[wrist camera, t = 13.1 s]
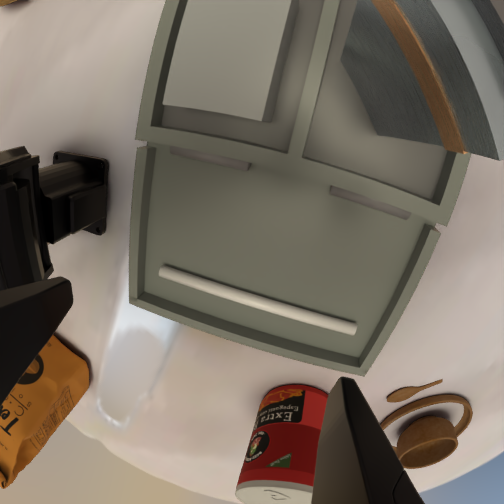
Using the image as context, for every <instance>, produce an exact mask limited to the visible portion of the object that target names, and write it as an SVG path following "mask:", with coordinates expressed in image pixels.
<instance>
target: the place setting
mask: <svg viewBox="0 0 504 504" xmlns="http://www.w3.org/2000/svg"><path fill="white" fill-rule="evenodd" d="M441 382H442V379H441V380H438V381H435V382H433V383H430V384H427V385H424V386H421V387H405V388H402V389H399V390H397V391H395V392H394V393H392V394H391V395H389V396H388V398H387V402H400V401H404V400H406V399H408V398H410V397H412V396H413V395H414V394H416V393H417V392H419V391H421V390H424V389H426V388H429V387H431V386H434V385H436V384H439V383H441ZM446 402H455V403H460V404H463V406H464V414H463V417H462V419H461V420H460V422H459V423H458V424H457V425H456V426H455V427H454V426H453V424H452V423H451V422H450V421H449V420H447V419H445V418H440V417H436V416H426V417H423V418H420V419H418V420H416V421H414V422H413V423H412V424H410V426H409V427H408V428H407V429H406V430H405V431H404V432H403V433H402V434H401V436H400V437H399V439H398V442H397V447H394V446H392V447H393V449H394V451H395V453H396V454H397V456H398V458H399V460H400V462H401V464H402V465H403V467H404V468H407V469H416V468H422V467H426V466H430V465H433V464H435V463H437V462H440V461H442V460H443V459H445V458H447V457H448V456H449V455H451V454H452V453H453V452H454V451H455V449H456V448H457V446H458V440H457V437H458V436H459V435H460V434H461V433H462V432H463V431H464V430H465V429H466V428H467V426H468V425H469V423H470V421H471V419H472V414H473V412H472V408H471V406H470V404H469V403H468V402H467V400H465V399H464V398H462V397H459V396H456V395H448V394H447V395H436V396H431V397H427V398H424V399H421V400H418V401H415V402H413V403H410V404H408V405H406V406H404V407H402V408H400V409H399V410H397V411H395V412H394V413H392V414H391V415H390V416H389V417H387V418H386V419H385V420H384V421H383V422H382V424H381V425H380V426H381V427H382V429H383V430H384V429H385V428H386V427H387V426H388V425H390V424H391V423H392V422H394V421H395V420H397V419H398V418H400V417H402V416H404V415H406V414H408V413H410V412H412V411H415V410H417V409H420V408H423V407H426V406H429V405H433V404H438V403H446Z"/></svg>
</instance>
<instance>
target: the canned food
mask: <svg viewBox="0 0 504 504" xmlns="http://www.w3.org/2000/svg"><path fill="white" fill-rule="evenodd" d="M327 398H328V395H327V394H326V393H324V392H323V391H321V390H319V389H316V388H313V387H310V386H304V385H285V386H281V387H278V388H276V389H273V390H272V391H270V392H269V393H268V394H267V395H266V396H265V398H264V399H263V400H262V402H261V404H260V407H259V411H258V414H257V418H256V422H255V425H254V429H253V432H252V436H251V439H250V443H249V446H248V449H247V453H246V456H245V460H244V463H243V466H242V469H241V473H240V476H239V480H238V483H237V487H236V493H235V495H236V497H237V499H239V500H240V501H241V502H243V503H244V504H311V500H312V493H313V485H314V477H315V468H316V459H317V449H318V442H319V437H320V432H321V428H322V423H323V418H324V413H325V408H326V403H327Z"/></svg>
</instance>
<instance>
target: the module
mask: <svg viewBox="0 0 504 504" xmlns="http://www.w3.org/2000/svg"><path fill="white" fill-rule="evenodd" d="M340 61H341V62H342V64H343V66H344V68H345V70H346V72H347V73H348V75H349V77H350V79H351V81H352V83H353V85H354V87H355V89H356V91H357V93H358V95H359V97H360V99H361V101H362V103H363V105H364V107H365V109H366V111H367V113H368V115H369V118H370V120H371V122H372V124H373V127H374V129H375V131H376V133H377V135H378V136H385V137H392V138H399V139H405V140H411V141H416V142H422V143H427V144H432V145H437V146H442V147H444V148H445V150H449V151H453V152H457V153H461V154H466V153H468V152H469V153H473V154H477V155H481V156H484V157H488V158H492V159H495V160H499V161H500V160H503V159H504V0H358V1H357V4H356V8H355V11H354V15H353V18H352V21H351V25H350V28H349V32H348V35H347V38H346V42H345V45H344V49H343V52H342V55H341V58H340Z"/></svg>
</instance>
